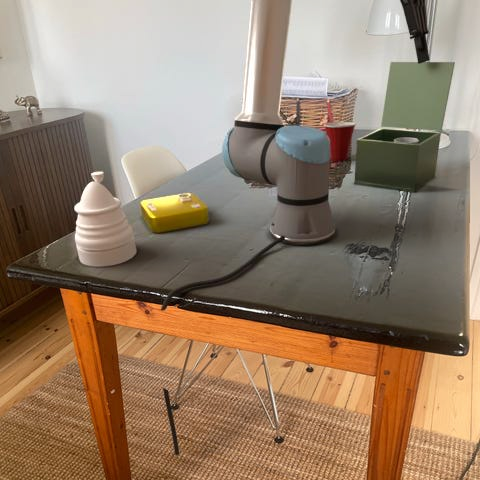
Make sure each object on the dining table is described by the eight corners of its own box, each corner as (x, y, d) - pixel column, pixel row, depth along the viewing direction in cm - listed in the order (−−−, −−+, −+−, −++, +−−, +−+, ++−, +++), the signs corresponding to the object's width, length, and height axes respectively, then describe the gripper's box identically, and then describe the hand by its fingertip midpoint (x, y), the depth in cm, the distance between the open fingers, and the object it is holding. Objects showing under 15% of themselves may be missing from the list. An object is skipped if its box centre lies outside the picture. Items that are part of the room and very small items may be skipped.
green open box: (413, 192, 141) (419, 145, 135) (354, 183, 151) (356, 139, 144) (434, 177, 152) (441, 132, 146) (377, 170, 162) (381, 128, 155)
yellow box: (141, 216, 137) (138, 199, 135) (194, 206, 141) (192, 189, 139) (153, 234, 125) (150, 216, 123) (211, 223, 129) (209, 205, 127)
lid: (454, 62, 138) (455, 62, 139) (390, 61, 148) (391, 62, 149) (440, 130, 145) (441, 130, 146) (380, 126, 155) (381, 126, 156)
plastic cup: (352, 154, 180) (354, 118, 174) (355, 162, 171) (358, 125, 165) (321, 155, 182) (322, 120, 175) (323, 163, 172) (324, 126, 166)
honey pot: (101, 241, 123) (85, 166, 114) (147, 246, 119) (134, 168, 110) (67, 263, 113) (47, 183, 104) (116, 269, 109) (99, 186, 100)
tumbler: (407, 183, 146) (412, 143, 140) (385, 179, 150) (389, 141, 144) (418, 177, 150) (423, 139, 145) (397, 174, 154) (400, 136, 149)
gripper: (403, -25, 141) (419, 65, 147) (384, -28, 132) (401, 68, 139) (430, -39, 136) (445, 56, 142) (412, -43, 127) (429, 58, 134)
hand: (423, 61), depth 140 cm, fingers closed
